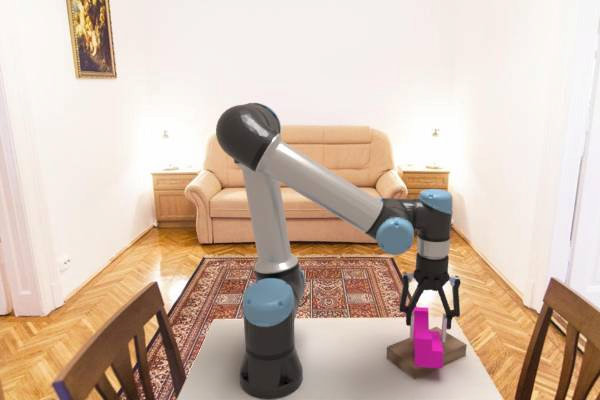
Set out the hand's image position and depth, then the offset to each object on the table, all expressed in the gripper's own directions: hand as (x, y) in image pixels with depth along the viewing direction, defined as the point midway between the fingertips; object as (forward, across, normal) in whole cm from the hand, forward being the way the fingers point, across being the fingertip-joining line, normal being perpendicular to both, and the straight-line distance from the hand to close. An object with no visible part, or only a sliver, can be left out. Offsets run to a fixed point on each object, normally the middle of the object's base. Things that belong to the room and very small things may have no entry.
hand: (427, 337), depth 111 cm
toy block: (+2, 0, +2) cm, 3 cm away
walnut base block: (+6, 0, 0) cm, 6 cm away
